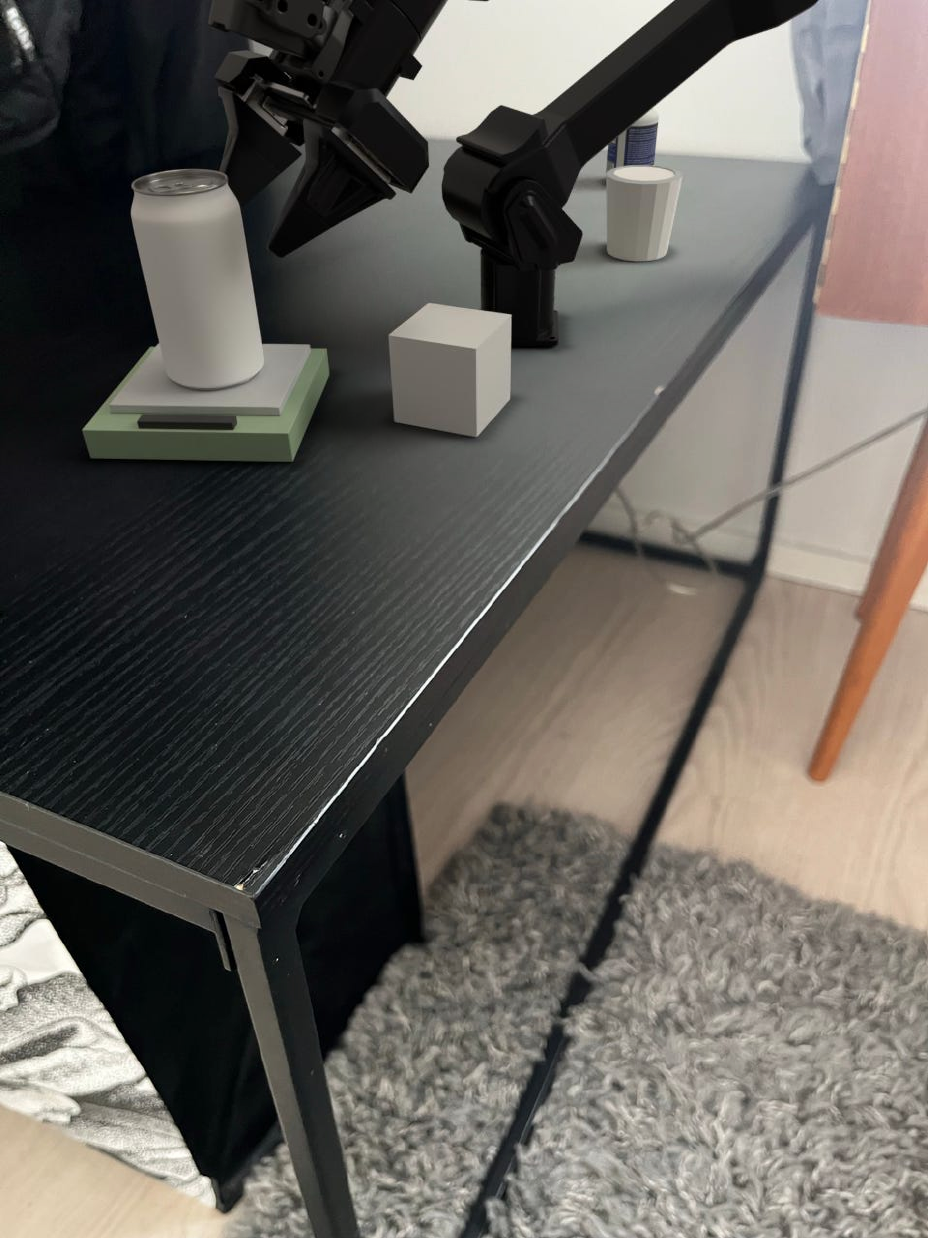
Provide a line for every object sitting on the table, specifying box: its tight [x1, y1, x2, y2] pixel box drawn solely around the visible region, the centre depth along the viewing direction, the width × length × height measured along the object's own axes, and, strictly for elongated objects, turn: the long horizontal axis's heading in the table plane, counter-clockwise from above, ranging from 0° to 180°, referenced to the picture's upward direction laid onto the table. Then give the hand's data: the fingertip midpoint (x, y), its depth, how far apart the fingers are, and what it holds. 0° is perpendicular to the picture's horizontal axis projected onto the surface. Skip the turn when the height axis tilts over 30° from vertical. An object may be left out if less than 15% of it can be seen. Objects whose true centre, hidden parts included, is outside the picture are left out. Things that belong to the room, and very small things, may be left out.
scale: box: [81, 342, 330, 463], centre depth 63 cm, size 13×13×3 cm
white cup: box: [605, 165, 684, 262], centre depth 87 cm, size 7×7×7 cm
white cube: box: [388, 302, 512, 438], centre depth 62 cm, size 6×6×6 cm
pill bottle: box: [605, 107, 660, 174], centre depth 106 cm, size 5×5×10 cm
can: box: [130, 168, 264, 391], centre depth 59 cm, size 6×6×12 cm
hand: (242, 234), depth 59 cm, fingers open, 9 cm apart
